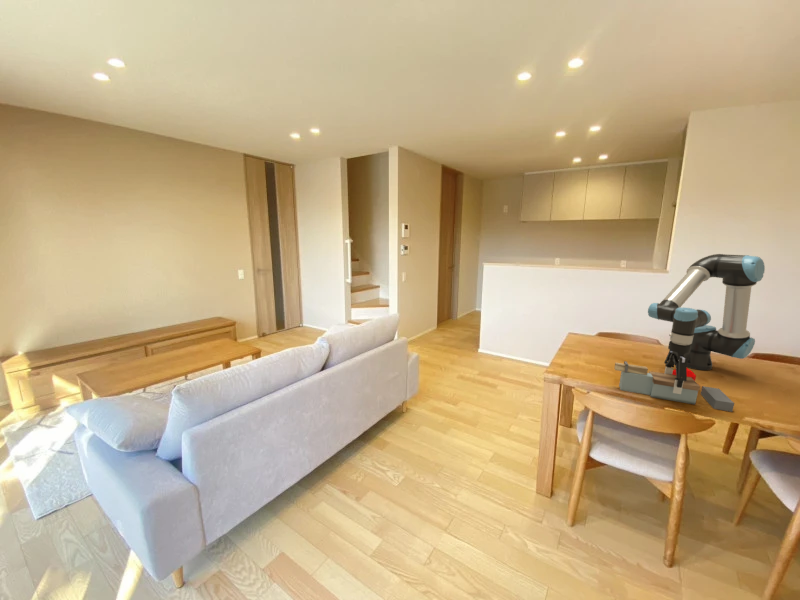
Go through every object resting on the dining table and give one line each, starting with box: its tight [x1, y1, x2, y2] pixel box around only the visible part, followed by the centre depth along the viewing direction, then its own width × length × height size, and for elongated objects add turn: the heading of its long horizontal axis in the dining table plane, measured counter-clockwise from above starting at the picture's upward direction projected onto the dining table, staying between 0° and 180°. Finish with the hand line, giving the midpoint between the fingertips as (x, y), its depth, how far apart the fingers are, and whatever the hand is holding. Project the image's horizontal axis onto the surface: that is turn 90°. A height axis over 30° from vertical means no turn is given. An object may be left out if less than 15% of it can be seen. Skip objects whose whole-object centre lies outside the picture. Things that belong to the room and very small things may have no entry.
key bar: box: [614, 362, 649, 375], centre depth 155 cm, size 2×12×3 cm, turn 66°
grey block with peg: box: [618, 360, 653, 396], centre depth 155 cm, size 4×12×13 cm, turn 66°
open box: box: [649, 381, 699, 405], centre depth 150 cm, size 8×16×7 cm, turn 66°
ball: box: [672, 367, 697, 382], centre depth 163 cm, size 8×8×8 cm
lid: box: [648, 370, 701, 392], centre depth 149 cm, size 10×16×2 cm, turn 66°
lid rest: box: [700, 385, 735, 413], centre depth 145 cm, size 14×6×4 cm, turn 156°
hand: (671, 386), depth 150 cm, fingers open, 13 cm apart
